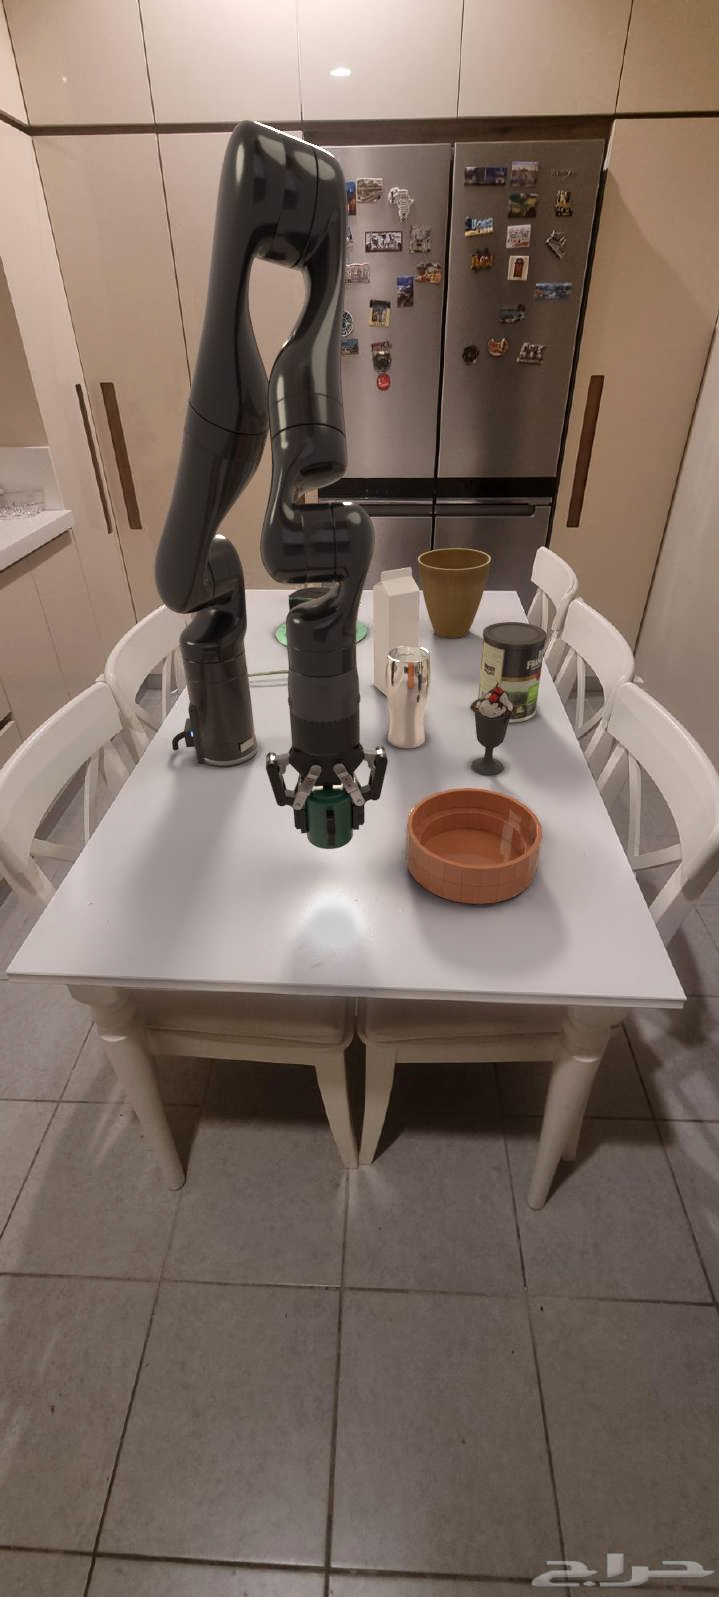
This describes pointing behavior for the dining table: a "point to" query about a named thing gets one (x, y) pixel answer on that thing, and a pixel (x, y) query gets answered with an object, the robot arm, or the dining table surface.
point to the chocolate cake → (309, 595)
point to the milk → (394, 617)
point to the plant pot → (453, 588)
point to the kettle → (329, 816)
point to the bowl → (473, 845)
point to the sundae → (491, 727)
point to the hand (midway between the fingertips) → (329, 827)
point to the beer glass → (407, 694)
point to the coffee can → (513, 664)
